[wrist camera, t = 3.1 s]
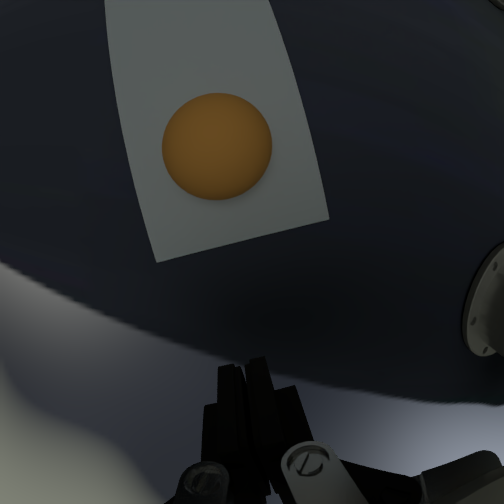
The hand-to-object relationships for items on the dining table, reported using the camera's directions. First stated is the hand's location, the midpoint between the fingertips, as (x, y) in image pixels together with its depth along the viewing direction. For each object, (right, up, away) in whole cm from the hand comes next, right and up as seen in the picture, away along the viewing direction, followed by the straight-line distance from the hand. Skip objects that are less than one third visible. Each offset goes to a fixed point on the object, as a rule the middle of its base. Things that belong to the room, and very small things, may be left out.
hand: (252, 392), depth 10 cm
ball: (-2, +11, +6) cm, 12 cm away
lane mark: (-4, +20, +6) cm, 22 cm away
